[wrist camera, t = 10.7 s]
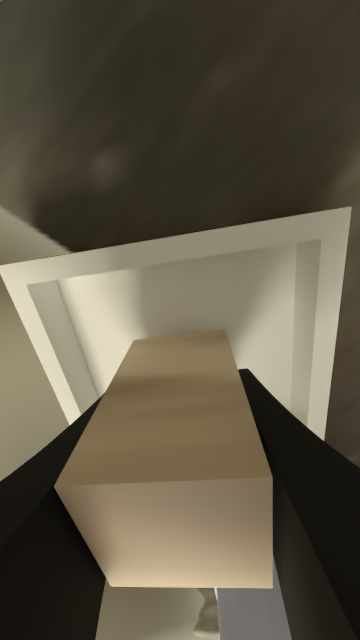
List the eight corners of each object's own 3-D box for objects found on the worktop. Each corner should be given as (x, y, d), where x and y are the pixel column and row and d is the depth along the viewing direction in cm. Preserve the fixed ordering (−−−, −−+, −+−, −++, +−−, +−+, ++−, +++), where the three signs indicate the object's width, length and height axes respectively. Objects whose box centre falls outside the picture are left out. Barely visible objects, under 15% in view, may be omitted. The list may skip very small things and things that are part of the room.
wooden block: (231, 402, 11) (272, 588, 5) (152, 409, 11) (111, 586, 6) (224, 328, 9) (272, 477, 4) (133, 339, 10) (53, 486, 4)
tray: (299, 430, 13) (320, 470, 11) (110, 442, 15) (95, 480, 12) (311, 212, 9) (351, 206, 7) (39, 258, 10) (-4, 266, 8)
